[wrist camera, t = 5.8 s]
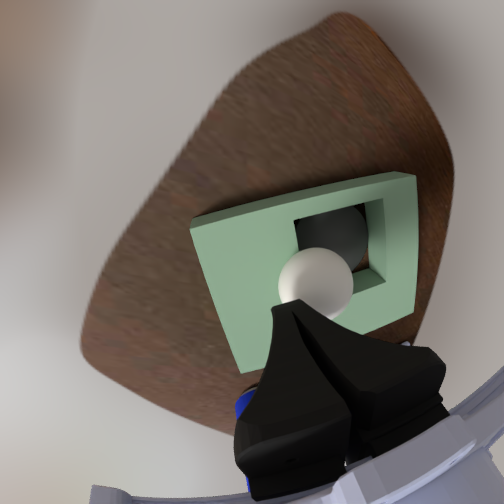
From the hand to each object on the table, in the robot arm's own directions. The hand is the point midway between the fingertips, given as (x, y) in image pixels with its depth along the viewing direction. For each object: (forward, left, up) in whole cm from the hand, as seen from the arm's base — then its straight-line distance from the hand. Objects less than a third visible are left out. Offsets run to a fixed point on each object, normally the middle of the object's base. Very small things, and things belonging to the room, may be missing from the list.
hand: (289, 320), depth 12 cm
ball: (0, -2, -2) cm, 3 cm away
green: (-1, -4, -7) cm, 8 cm away
